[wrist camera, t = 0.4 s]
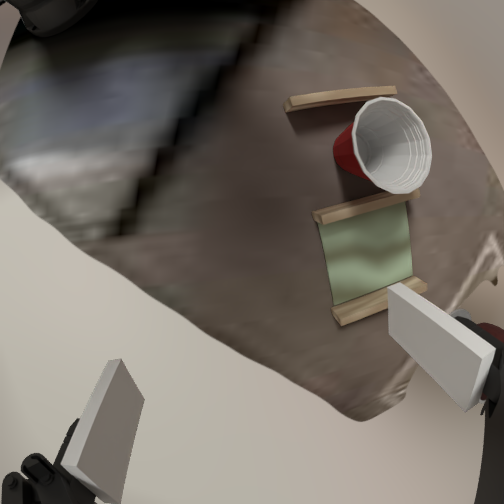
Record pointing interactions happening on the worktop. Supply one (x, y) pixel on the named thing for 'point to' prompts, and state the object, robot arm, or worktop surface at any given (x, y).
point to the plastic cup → (386, 146)
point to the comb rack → (362, 232)
